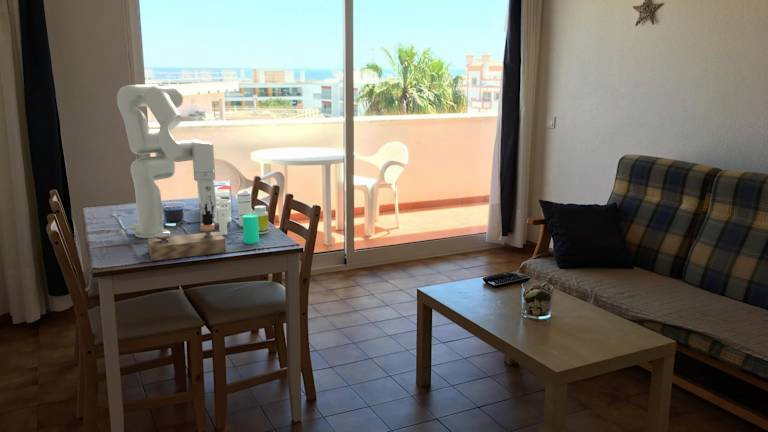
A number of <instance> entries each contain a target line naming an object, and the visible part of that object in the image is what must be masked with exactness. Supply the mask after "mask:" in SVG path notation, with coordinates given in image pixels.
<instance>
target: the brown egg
mask: <svg viewBox="0 0 768 432" xmlns="http://www.w3.org/2000/svg"><path fill="white" fill-rule="evenodd" d="M215 229H216V227H215V226H214V223H212V225H204V224H200V231H201V232H202V231H203V232H204V233H206V238H209V237H211V233H210V232H213V231H214V230H215Z"/></svg>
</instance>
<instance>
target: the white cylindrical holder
mask: <svg viewBox="0 0 768 432" xmlns="http://www.w3.org/2000/svg"><path fill="white" fill-rule="evenodd" d="M219 202H224V203H219ZM230 204H231V200H227V199H222V198H219V197H216V206H215V207H214V216H215V218H214V222H215V223H219V227H218V228H219V229H218V230H219V233H220V234H221V235H222V236H226V235H228V226H227V222H230V223H231V222H232V216H231V217H230ZM222 205H227V207H226V206H224V207H222Z"/></svg>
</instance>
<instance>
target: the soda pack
mask: <svg viewBox="0 0 768 432" xmlns="http://www.w3.org/2000/svg"><path fill="white" fill-rule="evenodd" d="M213 182H214V188H215V198H216V197H219V198H222V199H227V200H231V204H230V217H231V218H232V210H233V197H232V196H233V195H232V184H231V182H232V181H231V179H222V180H221V179H220V180H213ZM219 203H224V202H219ZM198 204H199V203H198ZM198 206H199V219H200V220H199V222H200V225H201V224H203V217H202V214H203V213H202V206H201V205H200V204H199V205H198ZM224 206H226V207H227V205H222V207H224ZM211 209H212V223H214V226H215V228H216V227H218V228H219V223H215V222H214V218H215V216H214V206H213V205H212V204H211ZM227 227H231V222H227Z"/></svg>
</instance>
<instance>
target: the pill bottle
mask: <svg viewBox="0 0 768 432" xmlns="http://www.w3.org/2000/svg"><path fill="white" fill-rule="evenodd" d="M253 208H254V209H253V210H254V211H253V212H252V215H257V216H258V227H259V235H264V234H265V235H266V234H268V233H269V232H270V230H269V229H270V228H269V212H268V211H267V206H266V205H255V206H254V207H253Z"/></svg>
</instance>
